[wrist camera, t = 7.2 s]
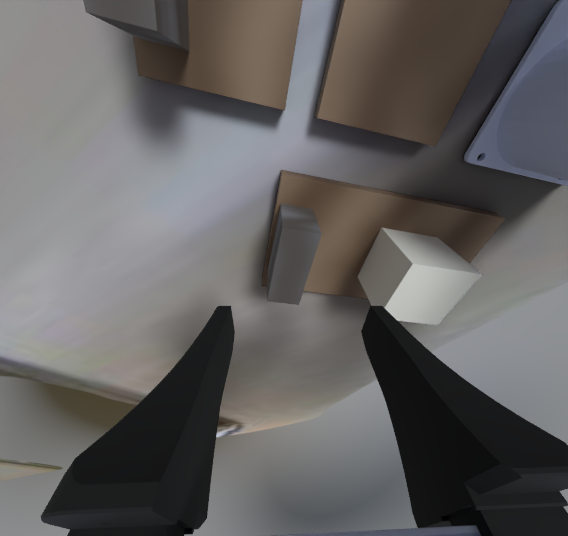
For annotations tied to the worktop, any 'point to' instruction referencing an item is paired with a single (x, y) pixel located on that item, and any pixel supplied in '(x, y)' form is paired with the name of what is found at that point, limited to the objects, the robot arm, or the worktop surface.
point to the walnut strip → (353, 233)
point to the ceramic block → (415, 276)
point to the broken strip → (341, 61)
